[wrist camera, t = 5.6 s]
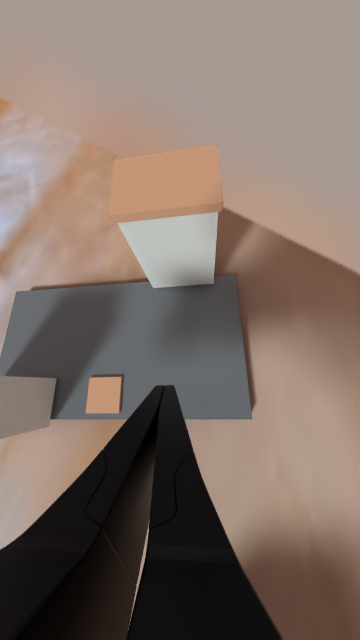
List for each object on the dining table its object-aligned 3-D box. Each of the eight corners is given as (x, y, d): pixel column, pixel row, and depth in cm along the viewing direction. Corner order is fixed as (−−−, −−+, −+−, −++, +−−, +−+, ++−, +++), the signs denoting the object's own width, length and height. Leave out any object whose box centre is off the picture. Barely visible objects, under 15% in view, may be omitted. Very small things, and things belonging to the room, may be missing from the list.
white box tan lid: (215, 285, 20) (223, 202, 11) (151, 290, 21) (107, 215, 12) (212, 247, 21) (217, 144, 12) (152, 252, 22) (113, 159, 13)
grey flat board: (249, 416, 18) (252, 419, 16) (-3, 417, 20) (-19, 419, 19) (234, 280, 22) (236, 273, 20) (25, 296, 24) (13, 290, 23)
